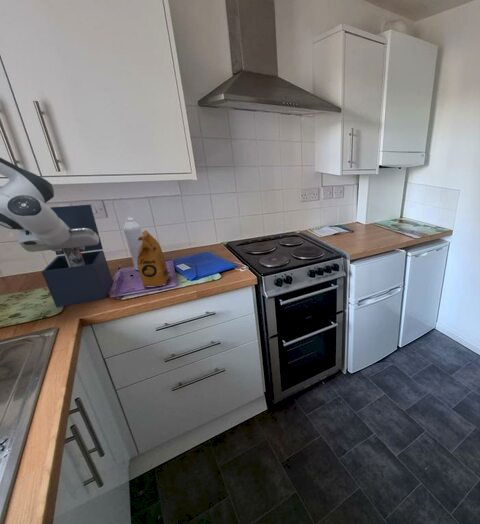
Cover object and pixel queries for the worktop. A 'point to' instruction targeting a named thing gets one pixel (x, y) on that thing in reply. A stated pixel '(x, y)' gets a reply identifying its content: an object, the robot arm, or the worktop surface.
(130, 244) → the water bottle
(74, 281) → the storage box
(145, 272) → the coffee package
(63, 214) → the box lid
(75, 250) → the beer can
